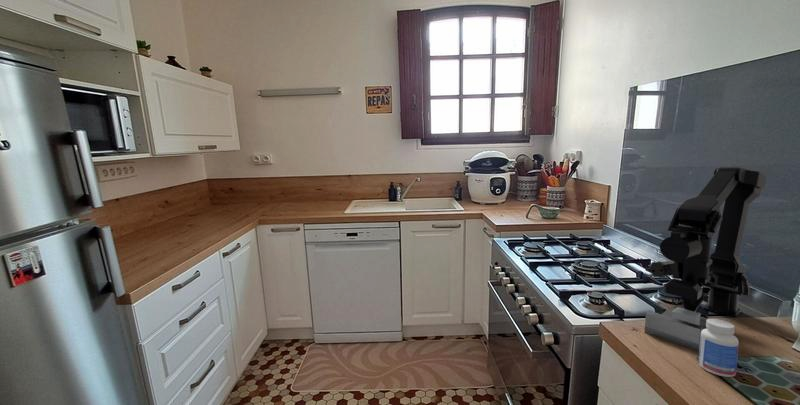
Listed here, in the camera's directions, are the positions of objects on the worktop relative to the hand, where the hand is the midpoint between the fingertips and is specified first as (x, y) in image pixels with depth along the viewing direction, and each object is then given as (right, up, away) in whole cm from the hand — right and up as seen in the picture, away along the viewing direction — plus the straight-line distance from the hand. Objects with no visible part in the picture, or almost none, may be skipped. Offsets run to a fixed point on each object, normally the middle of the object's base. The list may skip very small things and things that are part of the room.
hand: (689, 315), depth 81 cm
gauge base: (-3, -3, -1) cm, 4 cm away
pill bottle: (-9, -5, -16) cm, 19 cm away
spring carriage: (-3, -1, 0) cm, 4 cm away
